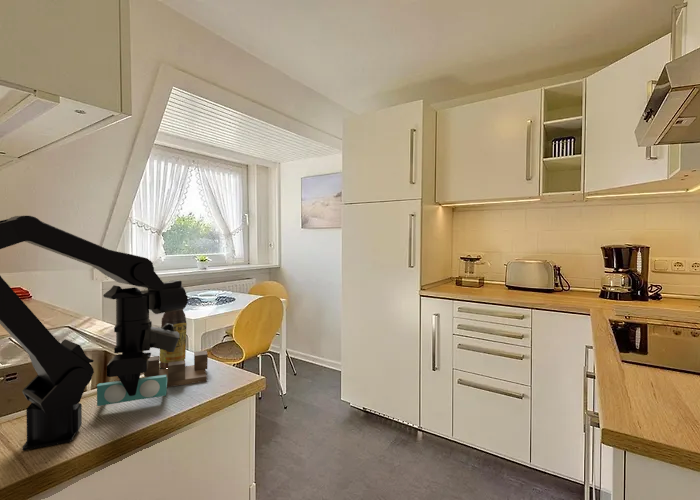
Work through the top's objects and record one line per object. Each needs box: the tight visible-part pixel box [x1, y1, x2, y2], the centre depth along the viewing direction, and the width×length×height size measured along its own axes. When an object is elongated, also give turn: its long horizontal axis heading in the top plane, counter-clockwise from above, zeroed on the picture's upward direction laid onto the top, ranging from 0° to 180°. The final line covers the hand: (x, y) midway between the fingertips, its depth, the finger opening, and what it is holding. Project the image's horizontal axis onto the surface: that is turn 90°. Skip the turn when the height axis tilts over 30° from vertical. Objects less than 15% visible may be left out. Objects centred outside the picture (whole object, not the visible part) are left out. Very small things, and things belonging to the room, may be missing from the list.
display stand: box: [143, 350, 209, 388], centre depth 87 cm, size 14×9×5 cm, turn 116°
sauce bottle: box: [159, 309, 188, 369], centre depth 95 cm, size 7×6×20 cm
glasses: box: [96, 375, 168, 407], centre depth 75 cm, size 12×8×4 cm, turn 116°
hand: (133, 393), depth 72 cm, fingers closed on glasses
